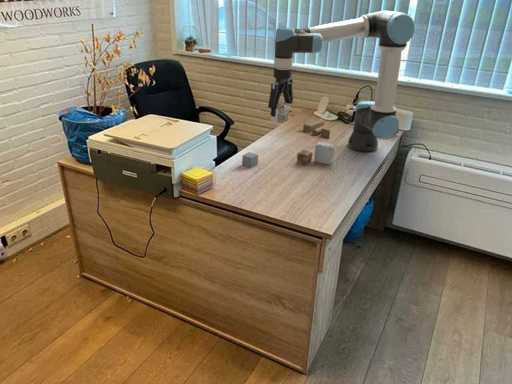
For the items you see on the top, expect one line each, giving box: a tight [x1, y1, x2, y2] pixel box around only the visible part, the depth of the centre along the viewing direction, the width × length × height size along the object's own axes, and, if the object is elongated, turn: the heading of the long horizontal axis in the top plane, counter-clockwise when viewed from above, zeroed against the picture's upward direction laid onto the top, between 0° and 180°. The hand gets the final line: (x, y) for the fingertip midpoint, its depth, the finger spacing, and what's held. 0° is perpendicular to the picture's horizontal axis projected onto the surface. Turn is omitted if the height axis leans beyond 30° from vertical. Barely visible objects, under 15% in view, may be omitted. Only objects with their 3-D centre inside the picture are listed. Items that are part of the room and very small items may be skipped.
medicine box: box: [313, 141, 335, 166], centre depth 199 cm, size 8×4×9 cm, turn 65°
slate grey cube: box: [241, 151, 259, 169], centre depth 194 cm, size 5×5×5 cm
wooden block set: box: [302, 118, 331, 139], centre depth 239 cm, size 17×6×18 cm
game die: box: [269, 102, 292, 123], centre depth 187 cm, size 9×8×10 cm
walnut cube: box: [296, 149, 313, 166], centre depth 199 cm, size 5×5×5 cm
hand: (280, 120), depth 188 cm, fingers closed on game die, 9 cm apart
